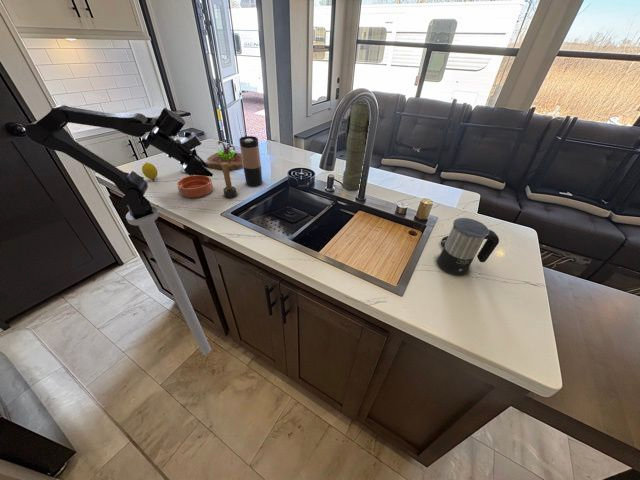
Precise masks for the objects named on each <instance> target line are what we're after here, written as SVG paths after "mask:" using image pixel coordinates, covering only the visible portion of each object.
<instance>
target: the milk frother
mask: <svg viewBox="0 0 640 480" xmlns="http://www.w3.org/2000/svg"><path fill="white" fill-rule="evenodd" d="M452 224H453V226H452V227H451V230H450V232H449V234H448V235H446V236H443V238H441V240H440V244H441V245H440V246H442V250H441V252H440V254H439V256H438V257H437V258H436V263H437V265H438V267H439V268H440V269H442V271H444V272H445V273H448V274H450V275H453V276H463V275H466V274H467V273H468V272H469V268H470V266H471V265H472V263H473V261H474V259H475V257H476V258H477V259H478V262H480V263H485V262H487V260H488V259H489V257H490V256H491V254H492V253H493V252H494V250H495V249H496V248H497V246H498V245H499V243H500V238H499V236H498V234H497V233H496V232H495V231H494V230H492V229H489V228H488V227H487V226H486V225H485V224H484V223H482V222H480V221H479V220H476V219H473V218H468V217H459V218H456V219H455V220H453V223H452ZM484 240H486V241H485V242H484ZM483 242H484V244H483ZM482 244H483V245H482ZM481 245H482V247H481ZM480 247H481V249H480Z"/></svg>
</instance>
